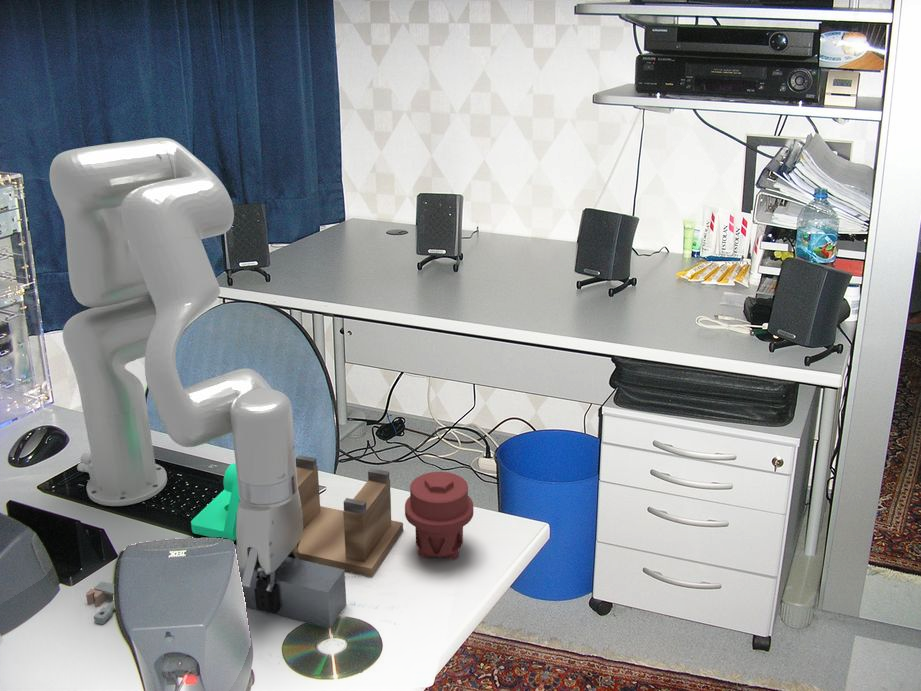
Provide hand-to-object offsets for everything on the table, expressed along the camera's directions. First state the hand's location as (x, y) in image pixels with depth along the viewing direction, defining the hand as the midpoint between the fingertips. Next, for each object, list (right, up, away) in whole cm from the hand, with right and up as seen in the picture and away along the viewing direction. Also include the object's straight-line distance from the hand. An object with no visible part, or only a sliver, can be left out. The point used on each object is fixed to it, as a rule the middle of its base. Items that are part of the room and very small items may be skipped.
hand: (278, 595), depth 124 cm
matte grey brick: (0, -1, 0) cm, 1 cm away
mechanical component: (+22, +3, +11) cm, 25 cm away
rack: (+6, +5, +13) cm, 15 cm away
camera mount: (-11, +6, +18) cm, 22 cm away
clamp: (-18, -2, 0) cm, 18 cm away
